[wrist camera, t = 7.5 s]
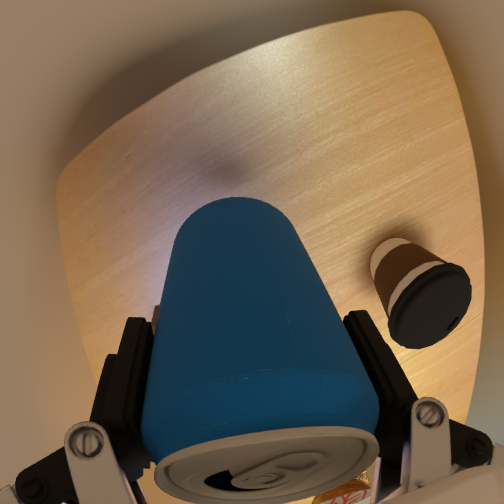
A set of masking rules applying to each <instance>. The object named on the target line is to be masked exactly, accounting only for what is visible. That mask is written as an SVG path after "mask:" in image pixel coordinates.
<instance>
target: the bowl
mask: <svg viewBox="0 0 504 504" xmlns="http://www.w3.org/2000/svg"><path fill="white" fill-rule="evenodd" d="M369 496H371V490H370V486H369V483H368V482H365V481H362V480H357V479H352V480H350V481H348V482H346V483H344V484H342V485H340V486H338V487H336V488H334V489H331V490H329V491H326V492H324V493H321V494H318V495H316V497H315V498H314V500H313V502H312V504H353V503H356V502H358V501H361V500H363V499H365V498H367V497H369Z"/></svg>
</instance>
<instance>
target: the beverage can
mask: <svg viewBox="0 0 504 504" xmlns="http://www.w3.org/2000/svg"><path fill="white" fill-rule="evenodd" d="M378 417H379V401H378V396H377V394H376V392H375V390H374V387H373V385H372V383H371V381H370V379H369V377H368V374H367V372H366V370H365V368H364V366H363V364H362V361H361V359H360V357H359V355H358V353H357V351H356V349H355V347H354V345H353V343H352V340H351V338H350V336H349V334H348V332H347V330H346V328H345V326H344V324H343V322H342V320H341V318H340V316H339V314H338V312H337V310H336V308H335V306H334V304H333V302H332V300H331V298H330V296H329V294H328V292H327V290H326V288H325V286H324V284H323V282H322V280H321V278H320V276H319V274H318V272H317V270H316V268H315V267H314V265H313V263H312V261H311V259H310V257H309V255H308V253H307V251H306V249H305V248H304V246H303V244H302V242H301V240H300V238H299V236H298V234H297V233H296V231H295V229H294V227H293V225H292V224H291V222H290V221H289V220H288V218H287V217H286V216H285V215H284V214H283V213H282V212H281V211H279V210H278V209H277V208H275V207H273V206H272V205H270V204H268V203H266V202H263V201H260V200H257V199H253V198H247V197H230V198H223V199H219V200H216V201H213V202H211V203H208V204H206V205H204V206H203V207H201V208H199V209H198V210H196V211H195V212H194V213H193V214H191V215H190V216H189V218H188V219H187V220H186V221H185V222H184V223H183V225H182V226H181V228H180V229H179V231H178V233H177V236H176V238H175V241H174V245H173V249H172V253H171V258H170V262H169V266H168V271H167V275H166V280H165V284H164V289H163V294H162V298H161V303H160V308H159V313H158V318H157V323H156V328H155V334H154V339H153V345H152V350H151V356H150V362H149V368H148V374H147V381H146V387H145V394H144V401H143V409H142V416H141V424H140V434H141V439H142V442H143V445H144V447H145V450H146V451H147V453H148V454H149V456H150V458H151V459H152V460H153V462H154V463H155V464H156V468H155V471H154V479H155V483H156V484H157V486H158V487H159V488H160V489H161V490H163V491H164V492H166V493H167V494H169V495H171V496H173V497H175V498H178V499H181V500H184V501H187V502H191V503H196V504H284V503H289V502H293V501H298V500H302V499H305V498H309V497H312V496H315V495H318V494H321V493H324V492H326V491H329V490H331V489H334V488H336V487H338V486H340V485H342V484H344V483H346V482H348V481H350V480H352V479H353V478H355V477H356V476H358V475H359V474H361V473H362V472H364V471H365V470H366V469H367V468H368V467H369V466H371V464H372V463H373V462H374V461H375V460H376V458H377V456H378V454H379V445H378V442H377V440H376V438H375V436H374V435H373V434H374V431H375V428H376V425H377V422H378Z"/></svg>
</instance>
